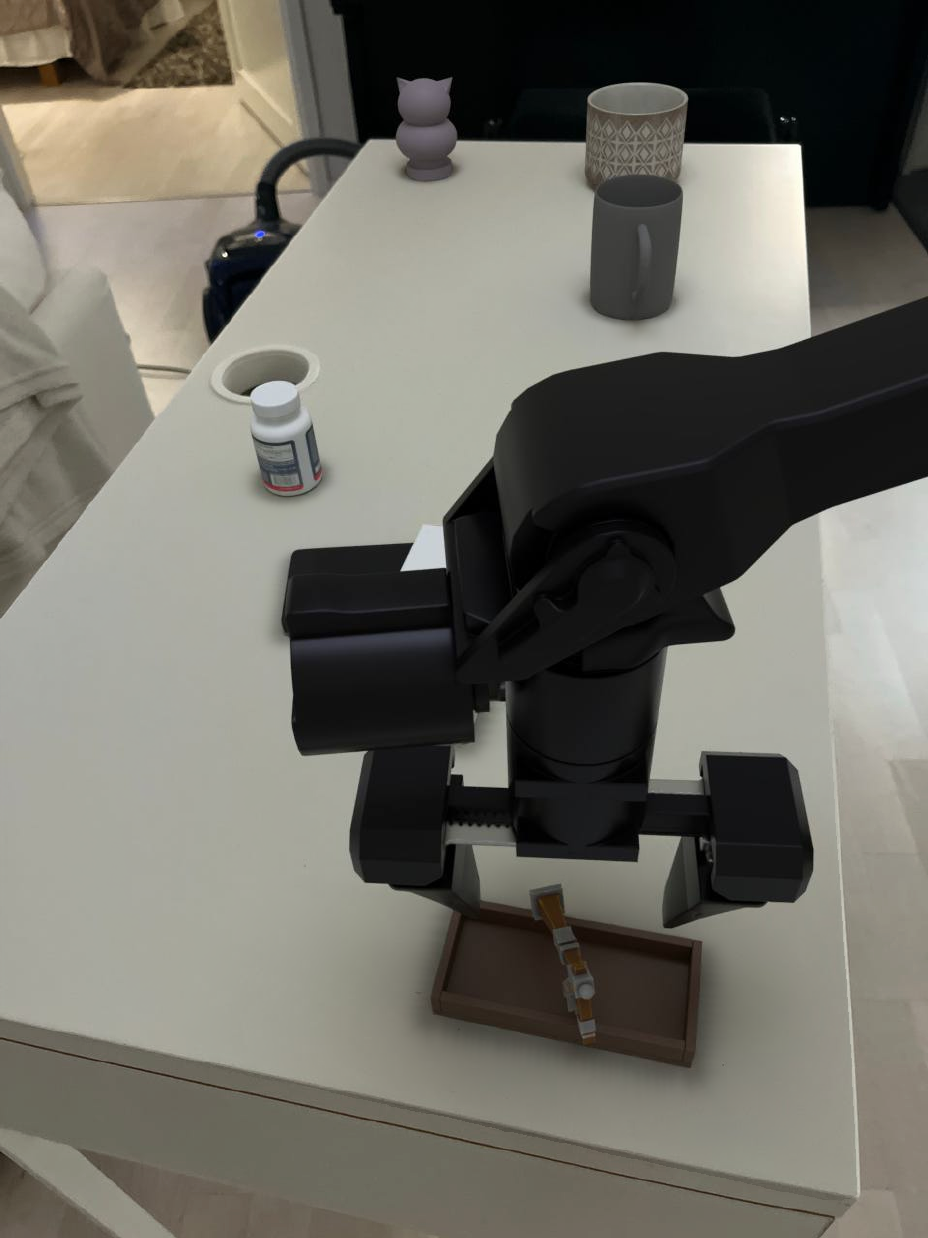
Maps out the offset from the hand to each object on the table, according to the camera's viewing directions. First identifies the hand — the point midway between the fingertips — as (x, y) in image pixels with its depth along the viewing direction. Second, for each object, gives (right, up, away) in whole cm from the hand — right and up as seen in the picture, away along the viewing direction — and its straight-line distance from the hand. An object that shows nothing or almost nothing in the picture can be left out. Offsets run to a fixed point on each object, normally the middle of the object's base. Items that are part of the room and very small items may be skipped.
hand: (570, 914), depth 48 cm
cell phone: (-10, +17, +29) cm, 35 cm away
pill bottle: (-20, +27, +40) cm, 52 cm away
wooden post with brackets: (0, -4, +4) cm, 6 cm away
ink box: (-6, +9, +21) cm, 24 cm away
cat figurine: (-10, +77, +91) cm, 120 cm away
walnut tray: (0, -5, +5) cm, 8 cm away
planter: (+18, +73, +85) cm, 114 cm away
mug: (+13, +48, +59) cm, 77 cm away
